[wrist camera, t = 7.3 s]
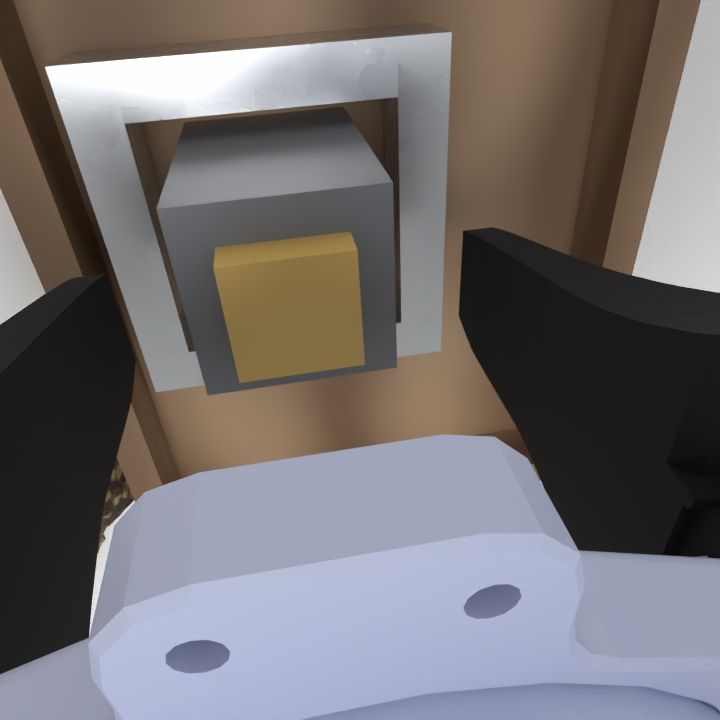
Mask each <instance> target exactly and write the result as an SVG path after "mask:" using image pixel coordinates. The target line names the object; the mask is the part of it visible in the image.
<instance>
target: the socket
mask: <svg viewBox="0 0 720 720" xmlns="http://www.w3.org/2000/svg"><path fill="white" fill-rule="evenodd" d="M451 40H452V32H451V31H448V30H446V29H443V28H440V27H438V26H435V25H433V24H430V23H416V24H404V25H392V26H380V27H368V28H356V29H344V30H333V31H321V32H309V33H297V34H285V35H273V36H261V37H249V38H237V39H225V40H213V41H201V42H189V43H177V44H165V45H153V46H141V47H129V48H117V49H105V50H93V51H81V52H69V53H67V54H66V55H64V56H62V57H60V58H59V59H57V60H55V61H54V62H52V63H50V64H49V65H47V66H45V69H46V72H47V75H48V78H49V80H50V83H51V86H52V89H53V92H54V95H55V98H56V101H57V104H58V107H59V110H60V113H61V116H62V119H63V121H64V124H65V127H66V130H67V133H68V136H69V139H70V142H71V145H72V148H73V151H74V154H75V157H76V160H77V163H78V165H79V168H80V171H81V174H82V177H83V180H84V183H85V186H86V189H87V192H88V195H89V198H90V201H91V204H92V206H93V209H94V212H95V215H96V218H97V221H98V224H99V227H100V230H101V233H102V236H103V239H104V242H105V245H106V248H107V250H108V253H109V256H110V259H111V262H112V265H113V268H114V271H115V274H116V277H117V280H118V283H119V286H120V289H121V291H122V294H123V297H124V300H125V303H126V306H127V309H128V312H129V315H130V318H131V321H132V324H133V327H134V330H135V333H136V335H137V338H138V341H139V344H140V347H141V350H142V353H143V356H144V359H145V362H146V365H147V368H148V371H149V374H150V377H151V379H152V382H153V385H154V388H155V391H156V392H161V391H168V390H175V389H182V388H189V387H196V386H203V385H205V384H204V381H203V377H202V373H201V370H200V366H199V362H198V359H197V355H196V352H195V348H194V344H193V341H192V337H191V333H190V330H189V326H188V323H187V319H186V315H185V312H184V308H183V304H182V301H181V297H180V294H179V290H178V286H177V283H176V279H175V275H174V272H173V268H172V264H171V261H170V257H169V254H168V250H167V246H166V243H165V239H164V235H163V232H162V228H161V225H160V221H159V217H158V214H157V210H156V208H157V205H158V202H159V199H160V196H161V190H160V186H159V182H158V178H157V175H156V171H155V167H154V163H153V159H152V156H151V152H150V148H149V144H148V141H147V137H146V133H145V129H144V125H143V122H148V121H158V120H168V119H179V118H189V117H199V116H210V115H220V114H230V113H241V112H251V111H261V110H272V109H282V108H292V107H303V106H313V105H323V104H334V103H344V102H354V101H365V100H375V99H381V108H382V140H383V168H384V169H385V171H386V172H387V174H388V175H389V177H390V178H391V180H392V181H393V205H394V249H395V293H396V337H397V357H403V356H410V355H417V354H424V353H431V352H438V351H441V332H442V302H443V273H444V244H445V215H446V186H447V157H448V127H449V98H450V69H451Z"/></svg>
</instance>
